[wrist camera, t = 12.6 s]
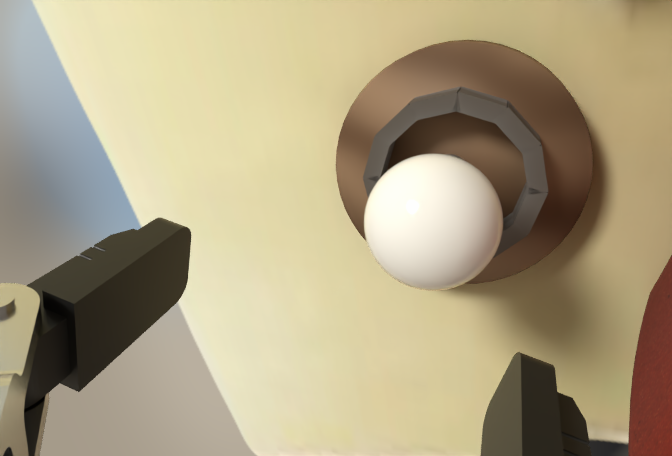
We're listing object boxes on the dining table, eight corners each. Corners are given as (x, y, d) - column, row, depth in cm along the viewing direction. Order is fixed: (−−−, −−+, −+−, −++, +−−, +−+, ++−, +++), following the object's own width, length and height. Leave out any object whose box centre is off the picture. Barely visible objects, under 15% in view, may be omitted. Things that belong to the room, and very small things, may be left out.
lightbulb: (524, 142, 28) (531, 215, 19) (478, 236, 31) (464, 339, 22) (418, 104, 29) (374, 153, 20) (383, 198, 32) (330, 281, 23)
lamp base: (378, 9, 30) (360, 10, 26) (638, 82, 27) (656, 94, 24) (323, 226, 37) (304, 249, 33) (526, 300, 34) (527, 334, 31)
